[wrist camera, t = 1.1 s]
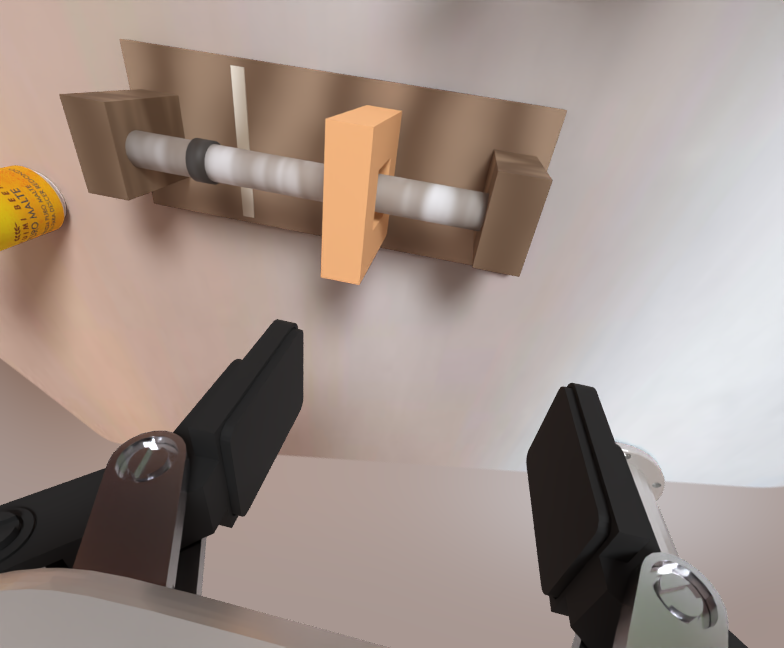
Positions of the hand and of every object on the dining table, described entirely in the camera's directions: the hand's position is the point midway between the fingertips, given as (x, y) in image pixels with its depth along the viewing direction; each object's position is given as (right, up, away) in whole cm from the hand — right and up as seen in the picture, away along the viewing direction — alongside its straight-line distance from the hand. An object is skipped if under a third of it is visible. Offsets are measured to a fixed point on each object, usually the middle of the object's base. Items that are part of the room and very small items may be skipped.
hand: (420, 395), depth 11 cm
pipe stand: (-6, +15, +20) cm, 26 cm away
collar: (-2, +13, +19) cm, 23 cm away
